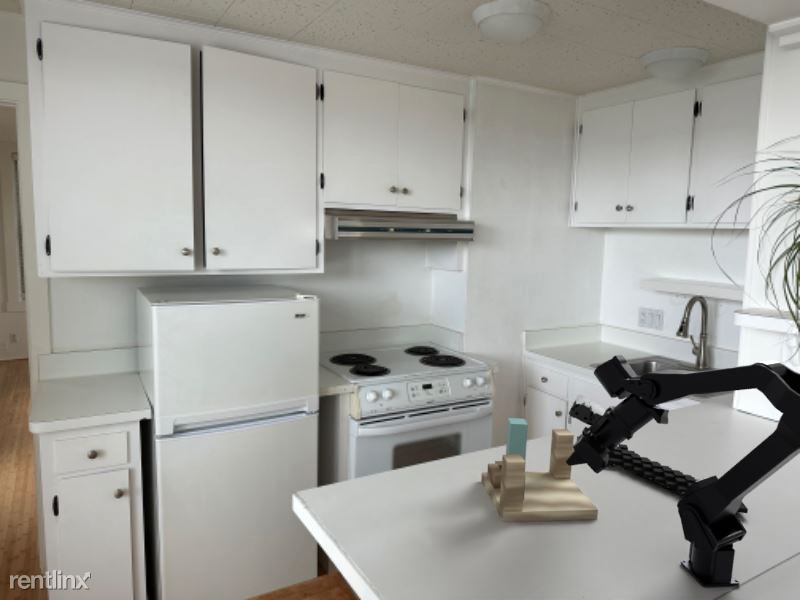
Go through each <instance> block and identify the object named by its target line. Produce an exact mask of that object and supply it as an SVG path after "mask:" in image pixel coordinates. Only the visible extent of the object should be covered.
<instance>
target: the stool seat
mask: <svg viewBox="0 0 800 600" xmlns="http://www.w3.org/2000/svg"><path fill="white" fill-rule="evenodd" d="M551 430H552V431H551V443H550V457H549V469H548V470H544V471H543V470H541V471H538V470H537V471H526V465H527V463H526V460H525V461H524V459H523V458H522V457H521V455H506V454H502V456H501V457H502V458H501V460H495V462H494V463H487V471H486V472H485V471H484V472H481V478H480V479H481V480H480V481H481V484H482V485H483V487H484V489H485V491H486V493H487V494H488V496H489V497H490V500H491V502H492V504H493V505H494V507H495V509H496V510H497V513H498V515H499V516H500V518H501V520H502V522H503V523H506V522H507V523H509V522H510V523H513V521H517V522H544V520H551V521H574V520H575V521H576V520H577V521H578V520H598V516H599V515H598V514H599V509H598V508H597V506H596V505H595V504H594V503H593V502H592V501H591V499H589V498H588V497H587V495H586V494H585V493H584V492H583V491H582V490H581V489H580V488H579V486H578V485H577V484H576V482H574V481H573V479H572V478H571V476H572V475H571V474H572V466H569V465H568V464H567V463H566V460H567V459H568V458H569V456H570V455H571V454H572V453H573V451H574V448H573V446H574V440H575V439H574V438H575V437H574V436H575V434H574V433H572V432H571V431H570V429H567V428H566V429H565V428H563V429H562V428H558V429H557V428H553V429H551ZM539 520H540V521H539ZM541 520H542V521H541Z"/></svg>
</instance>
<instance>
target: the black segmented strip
mask: <svg viewBox="0 0 800 600" xmlns="http://www.w3.org/2000/svg"><path fill="white" fill-rule="evenodd" d="M579 436H580V435H579ZM579 436H578V435H577V436H576V442H577V441H578V437H579ZM606 448H607V447H606ZM607 450H608V452H607V453H608V454H609V456H608V463H607V466H610V465H611V466H612V467H613V466H618V467H619V466H620V467H621V468H622V470H625V471H626V470H627V471H628V470H629V471H630V472H632V474H633V475H640V476H641V475H642V476H641V477H642V478H643V479H647V480H651V479H652V480H653V481H652V480H651V481H652V483H654V484H658V483H661V484H660V485H662V484H663V485H664V486H663V485H662V486H663V487H664V489H670V488H673V489H672V490H674V492H675V493H676V494H680V493H683V492H686V491H687V490H688V488H689V487H690V486H691V484H692V483H693V482H695V481H698V480H699V479H696V478H695V477H694V476H692V475H690V474H684V473H683V472H682V471H680V470H677V469H672V467H670V466H669V465H662V464H661V463H660V462H659V461H652V460H651V459H650V458H649V457H646V456H641V455H640V454H638V453H636V452H635V451H634V450H629V447H628V445H627V444H623V443H620V444H619V445H618V446H617V448H616V450H615V451H613V452H612V453H611V452H610V450H609V449H608V448H607ZM748 510H749V508H748V507H747V506H746V505H745V504H744V502H743V501H742V502H741V505H740V508H739V509H738V510H737V512H736V513H740V514H748V512H749V511H748Z"/></svg>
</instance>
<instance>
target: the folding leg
mask: <svg viewBox="0 0 800 600" xmlns="http://www.w3.org/2000/svg"><path fill="white" fill-rule="evenodd" d="M528 427H529V425H528V422H527V420H526V419H525V418H517V417H515V418H514V417H508V418H507V431H506V433H507V434H506V445H505V446H506V447H505V455H521V457H522V458H523V459H524V461H525V462H526V457H527V443H528V442H527V441H528Z"/></svg>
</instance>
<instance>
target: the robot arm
mask: <svg viewBox="0 0 800 600" xmlns="http://www.w3.org/2000/svg"><path fill="white" fill-rule="evenodd" d="M593 375H594V376H595V377H596V379H597V380H598V382H599V383H600V385H601V386H602V387H603V389H604V390H605V391H606V392H607V394H608V395H609V397H610V398H611V399H615V398H618V400H622V401H620V402H619V403H618V404H617V405H610V406H609V407H608V408H604V407H603V406H601V405H600V404H598V403H597V402H595V401H593V400H592V399H589V398H587V397H586V396H583V395H581V394H579V395H578V396H576V399H575V400H574V402H572V405H571V407H570V409H569V411H568V415H569V416H570V417H571V418H574V419H576V420H579V421H580V422H581V423H583V424H585V425H587V426H588V427H587V426H584V428H583V429H582V431H581V433H580V434H579V437H578V441H577V440H576V441H575V443H574V444H573V453H572V454H571V455H570V456H569V458H568V459H567V460H566V463H567V464H568V465H569V466H571V467H572V466H577V465H583V464H584V465H585V464H587V465H588V467H589V468H590V469H591V470H592V471H593V472H594V473H595V474H599V473H601V472H602V471H604V470H605V469H606V467H607V466H608V465H607V463H608V456H609V454H608V453H607V452H608V450H607V448H608V449H609V450H610V452H611V453H612V452H613V451H615V450H616V448H617V447H619V444H623V442H625V441H626V440H627V441H629V440H631V439H632V438H633V436H634V434H636V432H638V431H639V430H641V429H642V428H643V427H644V426H646V425H647V424H649V423H650V422H651V421H652V420H654V421H655V422H656V423H657V424H660V425H661V424H662V425H668V424H669V413H670V410H669V409H666V408H662V407H661V406H660V405H664V404H667V403H672V402H677V401H681V400H683V399H687V398H690V397H693V396H696V395H703V394H712V393H713V394H715V393H724V392H735V391H745V390H753V389H756V390H758V391H760V393H762V394H763V396H764V397H766V399H767V400H768V401H769V402H770V404H771V405H772V406H773V407H774V408H775V409H776V410H777V411H779V412H780V413H781V416H780V418H779V420H778V423H777V425H776V428H775V430H774V431H773V432H772V433H770V434H769V435H768V436H767V437H766V438H765V439H764V440H763V441H762V442H760V443H759V444H758V445H756V447H755V448H753V449H752V450H750V451H749V453H747V454H746V455H745V456H744V457H743V458H741V459H740V460H739V461H738V462H737V463H735V465H733V466H732V467H731V468H729V469H728V470H727V471H726V472H725V473H724V474H723V475H722V476H720V477H719V478H718V476H717V475H716V474H713V475H710V476H707V477H705V478H702V479H701V478H700V479H697V480H698V481H695V482H693V483H692V484H691V486H690V487H689V488H688V490H687V491H686V492H683V493H678V496H679V497H680V499H679V500H678V501H677V504H676V507H677V513H678V515H679V519H680V522H681V523H680V524H681V528H682V532H683V537H684V540H685V541H688V542H689V543H690V544H689V554H688V559H681V560H680V564H681V567H683V568H684V569H686V571H687V572H689V574H690V575H691V576H692V577H693V578H694V579H695V580H696V581H697V582H698V583H699V584H700V585H701V586H703V587H704V588H705V587H706V588H708V587H709V588H711V587H727V586H728V587H729V586H730V587H731V586H733V587H734V586H740V583H741V582H740V580H739V579H738V578H736V576H734V575H733V571H734V570H733V569H734V563H735V562H734V561H735V554H736V550H735V549H734V543H737V542H741V541H742V540H743V539H744V538H745V536H746V534H747V530H746V527H744V525H743V523H742V521H740V520H741V519H739V517H738V516H737V514H736V513H738V512H737V510H738V509H739V508H740V505H741V502H743V499H744V498H745V497H746V496H747V495H748V494H750V493H751V492H753V490H755V489H756V488H757V487H759V486H760V485H761V484H762V483H764V482H765V481H766V480H768V478H770V477H771V476H772V475H774V474H775V473H777V472H778V471H779V470H780V469H782V468H783V467H784V466H785V465H787V464H788V463H789V462H790V461H792V460H793V459H794V458H795V457H797V456H798V455H799V454H800V373H799V372H797V371H795V370H793V369H791V368H790V367H788V366H787V365H785V364H783V363H781V362H780V361H777V360H773V359H772V360H765V361H759V362H755V363H753V364H746V365H739V366H732V367H724V368H717V369H707V370H703V371H701V370H700V371H690V370H687V369H686V370H685V369H664V370H663V369H662V370H658V371H657V370H656V371H651V372H650V371H649V372H645V373H643V374H642V375H638V374H637V373H636V372H635V371H634V370H633V368H632V367H631V365H630V364H629V363H628V361H627V359H626V358H625V357H624V355H623V354H618V355H614V356H612V358H611V359H608V360H606V361H604V362H603V363H602V364H600V365H598V366H597V367H596V368H594V371H593ZM606 447H607V448H606Z"/></svg>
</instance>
